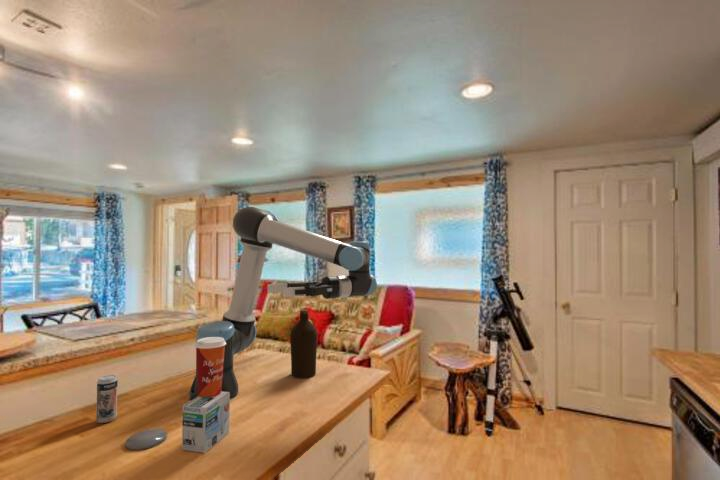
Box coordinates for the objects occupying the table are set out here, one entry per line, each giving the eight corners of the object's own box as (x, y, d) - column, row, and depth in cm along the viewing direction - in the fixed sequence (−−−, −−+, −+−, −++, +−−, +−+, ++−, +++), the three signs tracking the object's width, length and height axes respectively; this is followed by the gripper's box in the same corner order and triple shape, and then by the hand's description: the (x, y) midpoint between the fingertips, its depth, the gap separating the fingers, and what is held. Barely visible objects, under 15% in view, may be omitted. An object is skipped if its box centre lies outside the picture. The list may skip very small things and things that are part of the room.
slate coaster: (116, 449, 88) (116, 445, 88) (142, 431, 97) (142, 427, 97) (150, 451, 87) (150, 448, 87) (174, 433, 96) (174, 429, 96)
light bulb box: (205, 454, 86) (205, 407, 86) (180, 450, 87) (181, 405, 88) (230, 432, 96) (231, 391, 97) (207, 429, 98) (208, 389, 98)
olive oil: (322, 375, 141) (322, 310, 142) (297, 380, 135) (298, 313, 136) (308, 368, 150) (309, 307, 151) (285, 373, 144) (285, 309, 144)
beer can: (94, 425, 100) (95, 381, 100) (97, 418, 104) (98, 376, 104) (115, 422, 102) (116, 378, 102) (117, 415, 106) (118, 373, 107)
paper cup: (205, 401, 90) (206, 344, 90) (187, 395, 94) (188, 340, 95) (232, 391, 96) (232, 338, 97) (213, 385, 101) (214, 334, 101)
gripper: (355, 302, 113) (291, 307, 101) (318, 294, 134) (261, 298, 122) (355, 278, 113) (291, 280, 102) (318, 274, 134) (262, 276, 123)
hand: (275, 290), depth 112 cm, fingers open, 13 cm apart
